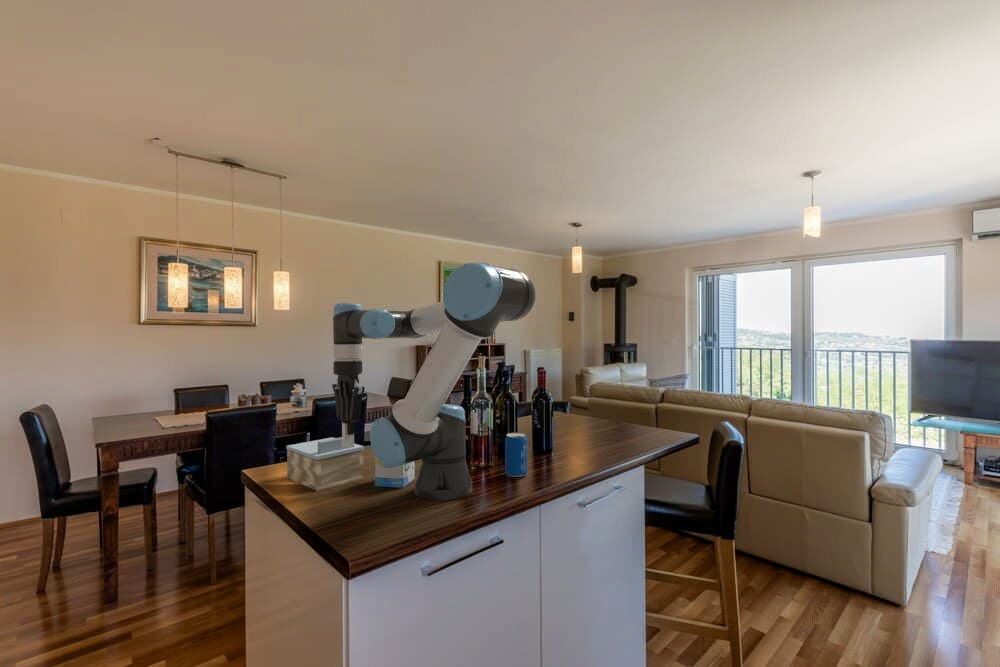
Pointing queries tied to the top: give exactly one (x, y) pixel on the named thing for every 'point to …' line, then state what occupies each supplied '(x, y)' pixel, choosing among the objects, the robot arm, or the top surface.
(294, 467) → the open wooden box
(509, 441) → the beverage can
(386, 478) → the ink box
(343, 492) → the top surface
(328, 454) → the lid
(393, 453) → the robot arm
